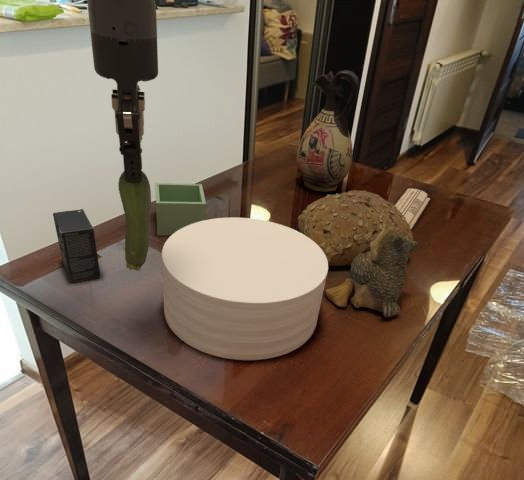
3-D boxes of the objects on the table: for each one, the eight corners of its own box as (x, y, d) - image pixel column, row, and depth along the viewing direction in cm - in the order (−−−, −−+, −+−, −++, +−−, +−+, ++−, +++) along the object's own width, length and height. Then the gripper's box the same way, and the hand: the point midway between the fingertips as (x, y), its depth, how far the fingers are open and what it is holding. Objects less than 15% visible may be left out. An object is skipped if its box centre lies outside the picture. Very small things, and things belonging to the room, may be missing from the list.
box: (62, 262, 95) (52, 212, 88) (91, 258, 97) (84, 208, 90) (70, 283, 90) (60, 231, 83) (101, 278, 92) (94, 227, 85)
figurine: (348, 271, 103) (364, 204, 94) (412, 296, 98) (437, 229, 89) (318, 300, 94) (333, 229, 84) (388, 330, 89) (412, 258, 79)
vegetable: (139, 259, 79) (131, 132, 66) (159, 269, 78) (155, 141, 65) (120, 270, 76) (107, 139, 63) (141, 280, 75) (132, 148, 62)
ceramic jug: (281, 184, 136) (297, 63, 117) (311, 171, 146) (329, 58, 127) (333, 204, 129) (358, 79, 110) (360, 189, 139) (388, 72, 120)
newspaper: (406, 192, 141) (408, 186, 140) (430, 199, 139) (432, 193, 138) (384, 221, 124) (386, 215, 123) (411, 229, 122) (413, 222, 121)
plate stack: (272, 384, 75) (281, 326, 68) (131, 319, 84) (125, 261, 76) (339, 301, 94) (352, 248, 87) (219, 255, 103) (221, 204, 96)
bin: (157, 235, 107) (155, 202, 102) (156, 214, 115) (155, 182, 110) (205, 235, 109) (206, 203, 104) (201, 214, 117) (201, 184, 112)
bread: (370, 221, 123) (383, 175, 116) (417, 264, 109) (435, 214, 101) (283, 228, 116) (289, 179, 108) (320, 275, 101) (331, 222, 93)
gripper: (94, 17, 61) (108, 156, 72) (84, 37, 50) (102, 196, 61) (156, 23, 62) (160, 158, 73) (158, 44, 52) (162, 198, 63)
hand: (133, 175), depth 67 cm, fingers closed on vegetable, 3 cm apart
